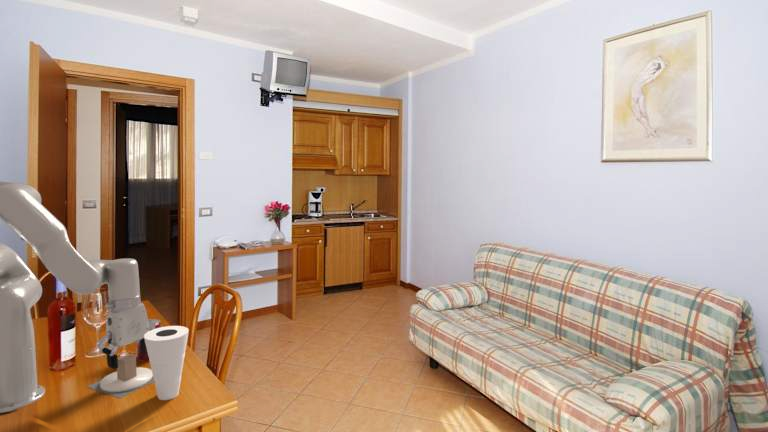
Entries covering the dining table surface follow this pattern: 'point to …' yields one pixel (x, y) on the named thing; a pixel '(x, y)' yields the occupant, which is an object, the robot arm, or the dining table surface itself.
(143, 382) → the lid
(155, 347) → the cup
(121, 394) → the mat
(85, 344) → the dining table surface
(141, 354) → the soda can
